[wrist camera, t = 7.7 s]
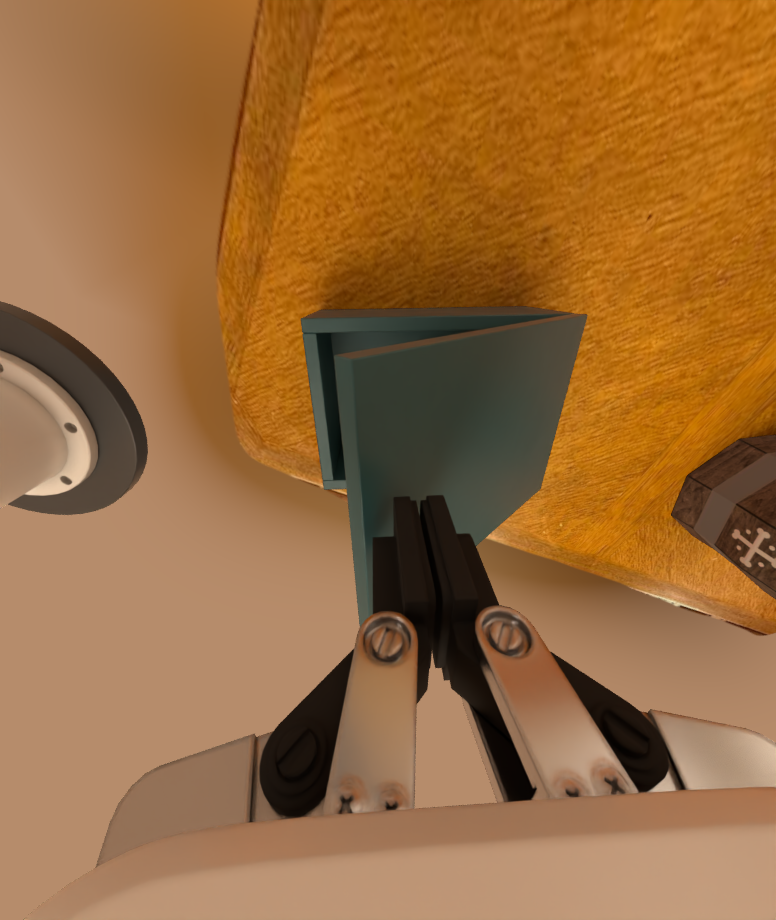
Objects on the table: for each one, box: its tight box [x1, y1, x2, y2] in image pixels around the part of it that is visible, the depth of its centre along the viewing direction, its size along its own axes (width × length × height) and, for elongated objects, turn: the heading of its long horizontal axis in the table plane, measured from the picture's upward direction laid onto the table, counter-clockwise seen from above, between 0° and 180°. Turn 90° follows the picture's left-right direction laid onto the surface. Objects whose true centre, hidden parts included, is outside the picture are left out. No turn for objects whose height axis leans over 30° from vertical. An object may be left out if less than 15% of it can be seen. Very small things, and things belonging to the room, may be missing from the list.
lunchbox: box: [301, 306, 574, 490], centre depth 23 cm, size 16×12×7 cm
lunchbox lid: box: [334, 314, 587, 626], centre depth 16 cm, size 16×12×1 cm
